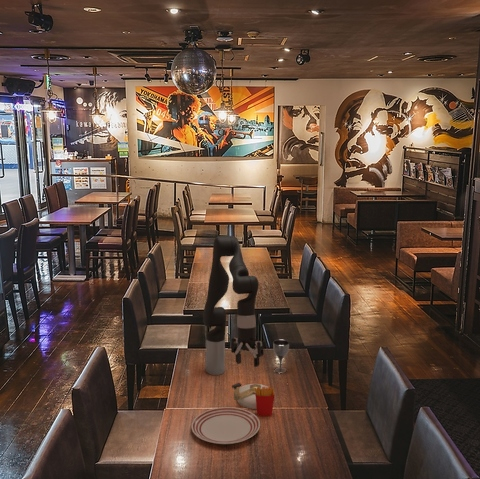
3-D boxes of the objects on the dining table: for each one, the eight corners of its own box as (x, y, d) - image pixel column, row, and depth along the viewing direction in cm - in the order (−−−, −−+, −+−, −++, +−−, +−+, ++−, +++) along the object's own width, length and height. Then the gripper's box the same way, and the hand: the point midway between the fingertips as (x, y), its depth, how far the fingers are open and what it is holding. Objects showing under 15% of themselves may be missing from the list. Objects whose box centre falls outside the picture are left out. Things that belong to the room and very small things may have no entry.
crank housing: (230, 399, 241) (230, 390, 240) (256, 388, 251) (256, 380, 250) (254, 413, 228) (254, 404, 228) (281, 401, 239) (281, 393, 238)
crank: (255, 387, 242) (255, 374, 241) (263, 391, 239) (263, 377, 238) (229, 398, 232) (229, 383, 231) (236, 402, 229) (236, 387, 228)
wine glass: (269, 368, 273) (270, 340, 270) (283, 366, 276) (284, 338, 273) (277, 374, 266) (278, 346, 263) (291, 372, 269) (292, 343, 266)
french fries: (273, 411, 230) (274, 385, 228) (274, 415, 226) (274, 389, 224) (254, 410, 230) (254, 384, 228) (253, 415, 227) (254, 389, 224)
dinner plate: (198, 455, 198) (198, 446, 198) (186, 418, 224) (186, 410, 224) (269, 444, 206) (269, 436, 205) (249, 410, 232) (249, 403, 231)
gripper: (266, 325, 215) (267, 365, 216) (237, 321, 223) (238, 360, 224) (256, 329, 209) (257, 370, 210) (226, 325, 217) (227, 364, 218)
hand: (247, 364), depth 217 cm, fingers open, 8 cm apart
